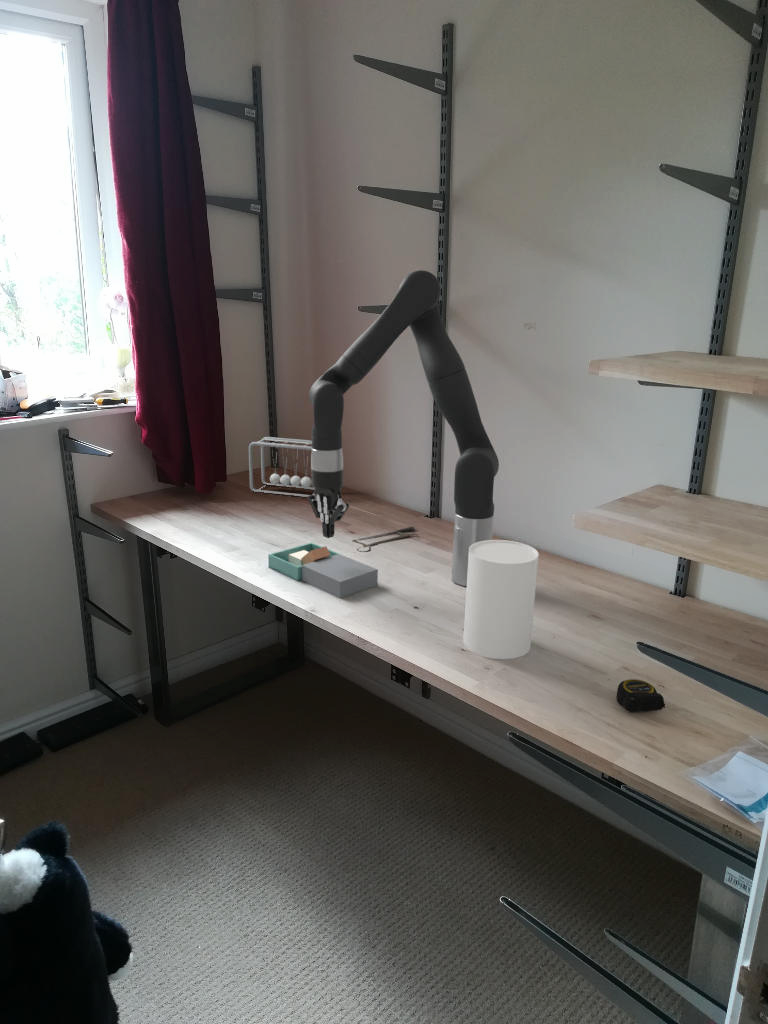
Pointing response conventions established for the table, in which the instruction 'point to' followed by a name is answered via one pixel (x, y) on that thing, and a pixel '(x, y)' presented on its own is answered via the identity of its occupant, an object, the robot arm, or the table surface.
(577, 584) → the table surface
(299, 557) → the cream tile
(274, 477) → the newton's cradle
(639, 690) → the tape measure
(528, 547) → the canister
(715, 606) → the table surface
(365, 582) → the grey flat block
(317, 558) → the terracotta tile
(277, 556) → the box
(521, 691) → the table surface
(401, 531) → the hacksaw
